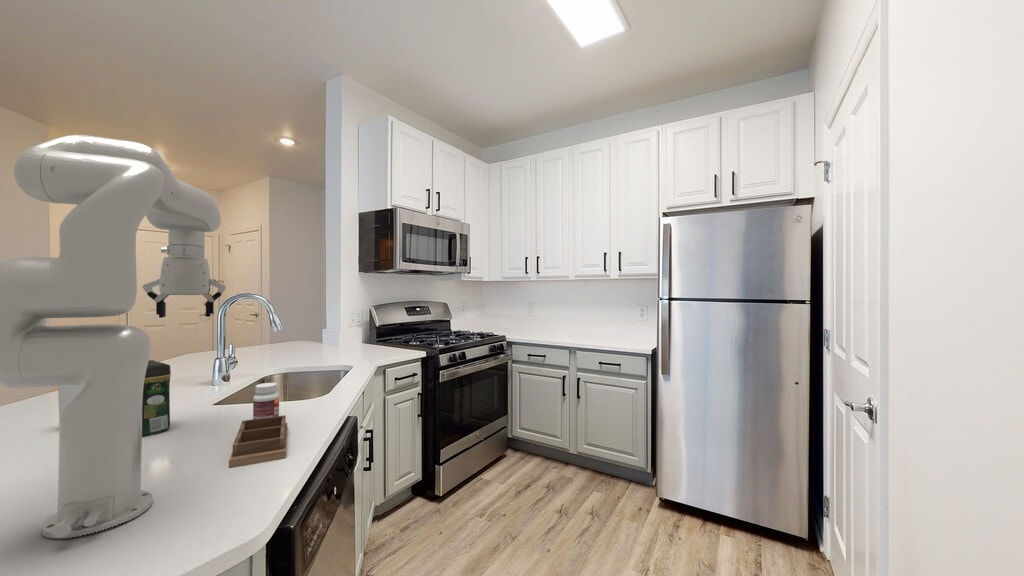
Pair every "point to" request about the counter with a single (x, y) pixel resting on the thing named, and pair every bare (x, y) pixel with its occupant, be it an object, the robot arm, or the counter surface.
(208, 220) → the robot arm
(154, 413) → the coffee jar
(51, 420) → the counter surface
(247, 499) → the counter surface
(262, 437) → the caddy
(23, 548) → the counter surface
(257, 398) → the pill bottle
